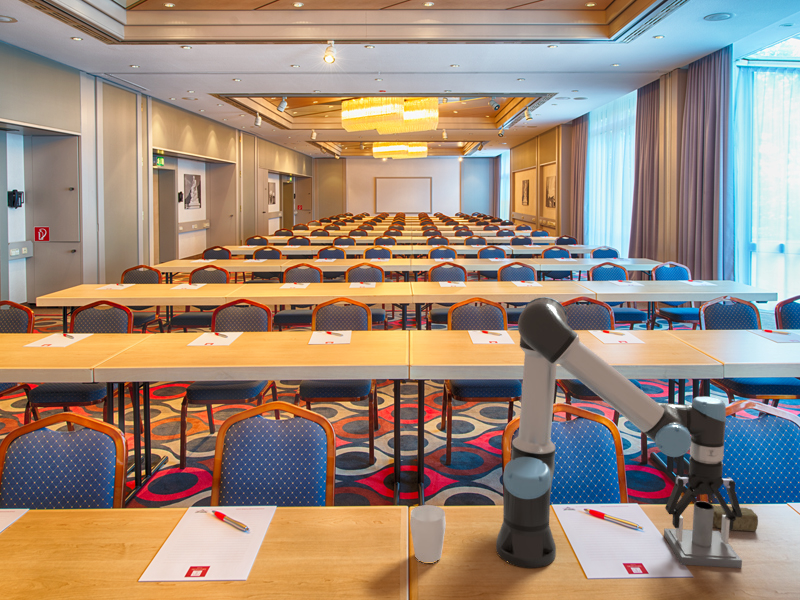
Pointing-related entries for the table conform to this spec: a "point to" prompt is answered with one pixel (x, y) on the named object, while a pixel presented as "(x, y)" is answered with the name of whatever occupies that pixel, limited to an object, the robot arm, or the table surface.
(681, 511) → the robot arm
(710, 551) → the kitchen scale
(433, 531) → the cup
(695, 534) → the grey tube
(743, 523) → the stone block
